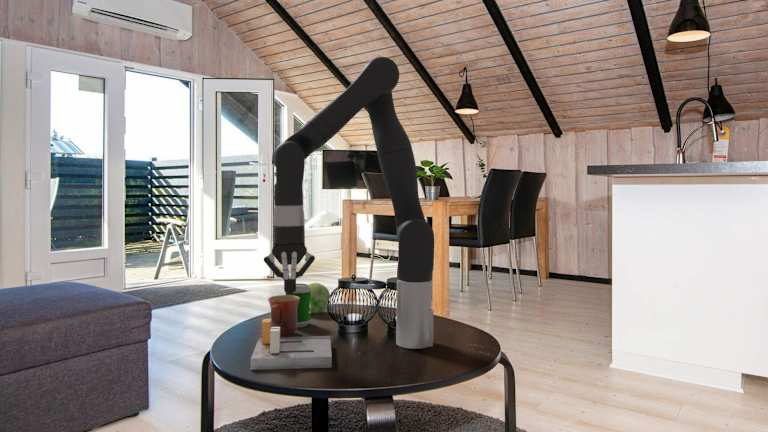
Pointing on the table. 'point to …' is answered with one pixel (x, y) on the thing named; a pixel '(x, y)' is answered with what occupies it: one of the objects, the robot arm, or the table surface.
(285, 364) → the console
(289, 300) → the mug
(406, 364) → the table surface
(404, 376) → the table surface
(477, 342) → the table surface
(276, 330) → the fader cream
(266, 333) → the fader orange
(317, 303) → the decorative ball
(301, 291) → the soda can
